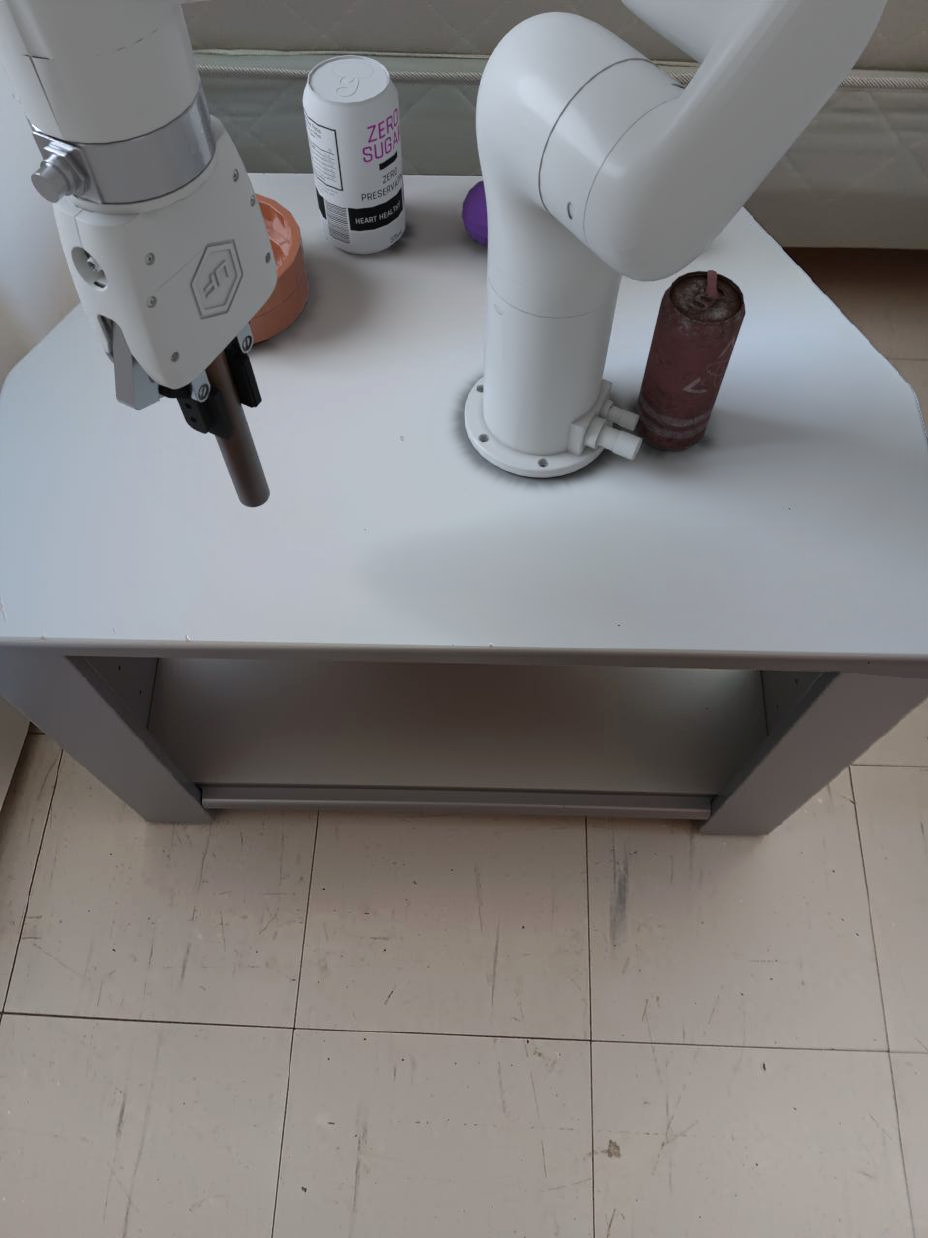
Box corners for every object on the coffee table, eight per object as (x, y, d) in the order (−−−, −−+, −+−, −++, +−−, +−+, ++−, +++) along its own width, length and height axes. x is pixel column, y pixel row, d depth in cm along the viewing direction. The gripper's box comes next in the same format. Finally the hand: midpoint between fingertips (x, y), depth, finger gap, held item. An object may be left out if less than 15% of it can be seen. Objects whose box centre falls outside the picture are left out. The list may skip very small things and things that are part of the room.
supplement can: (333, 199, 93) (313, 46, 80) (413, 209, 92) (405, 56, 79) (313, 252, 89) (288, 100, 76) (396, 262, 88) (385, 111, 75)
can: (703, 399, 80) (746, 266, 68) (705, 456, 77) (751, 327, 64) (633, 394, 80) (663, 261, 68) (632, 450, 77) (664, 321, 65)
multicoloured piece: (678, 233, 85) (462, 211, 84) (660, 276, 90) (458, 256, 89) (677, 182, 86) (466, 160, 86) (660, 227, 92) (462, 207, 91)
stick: (276, 489, 64) (229, 340, 52) (258, 512, 64) (206, 365, 51) (250, 478, 65) (197, 327, 53) (232, 500, 64) (174, 352, 52)
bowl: (339, 275, 88) (331, 221, 82) (251, 374, 81) (236, 322, 76) (214, 227, 91) (199, 171, 86) (120, 319, 85) (98, 265, 79)
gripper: (74, 268, 37) (197, 530, 53) (296, 61, 43) (345, 350, 59) (-65, 211, 38) (95, 481, 54) (169, 21, 45) (250, 312, 61)
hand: (225, 411), depth 57 cm, fingers closed on stick, 2 cm apart
